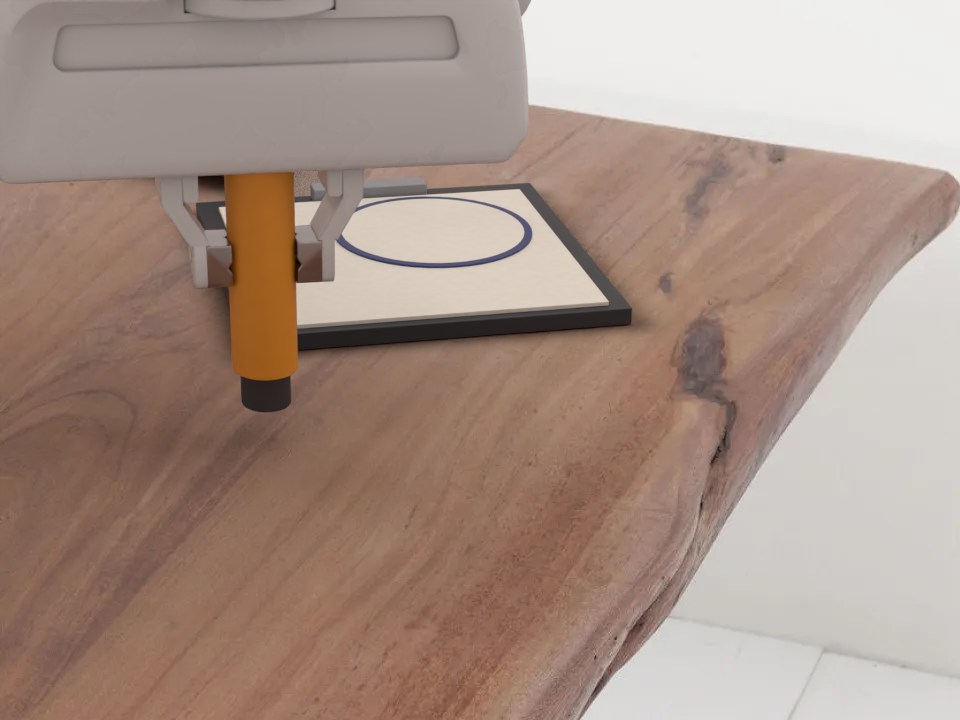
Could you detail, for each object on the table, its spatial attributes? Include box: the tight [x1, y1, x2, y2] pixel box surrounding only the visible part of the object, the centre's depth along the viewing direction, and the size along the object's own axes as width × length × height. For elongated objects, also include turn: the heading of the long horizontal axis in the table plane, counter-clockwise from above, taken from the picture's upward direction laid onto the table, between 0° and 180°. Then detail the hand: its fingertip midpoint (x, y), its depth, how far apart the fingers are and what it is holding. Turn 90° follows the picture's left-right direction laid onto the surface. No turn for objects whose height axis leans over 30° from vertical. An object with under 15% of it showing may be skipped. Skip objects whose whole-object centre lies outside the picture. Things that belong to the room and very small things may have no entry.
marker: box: [223, 172, 299, 413], centre depth 72 cm, size 3×3×13 cm
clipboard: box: [195, 176, 633, 351], centre depth 93 cm, size 18×18×2 cm
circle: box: [336, 196, 532, 268], centre depth 94 cm, size 10×10×1 cm
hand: (261, 280), depth 73 cm, fingers closed on marker, 2 cm apart
